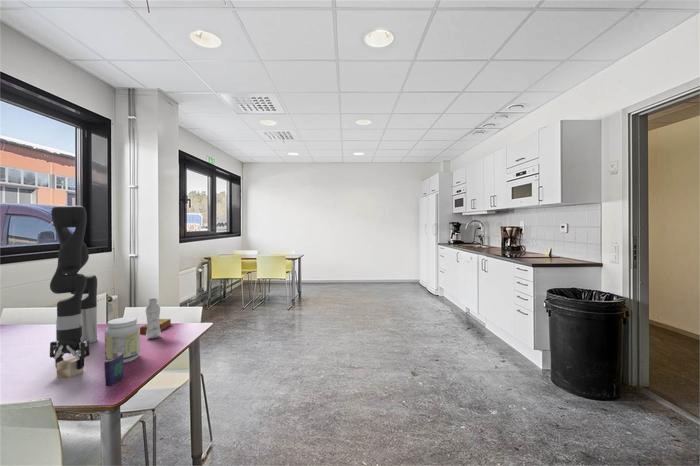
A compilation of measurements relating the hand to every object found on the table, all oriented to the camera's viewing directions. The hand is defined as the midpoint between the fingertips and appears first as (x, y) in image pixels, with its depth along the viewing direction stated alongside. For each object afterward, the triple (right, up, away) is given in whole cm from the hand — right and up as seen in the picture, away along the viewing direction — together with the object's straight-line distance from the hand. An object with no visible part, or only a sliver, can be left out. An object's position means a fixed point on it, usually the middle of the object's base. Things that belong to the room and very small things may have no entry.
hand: (69, 368), depth 123 cm
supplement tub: (+10, -2, +14) cm, 18 cm away
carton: (-1, -3, +57) cm, 57 cm away
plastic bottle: (+6, -2, +42) cm, 42 cm away
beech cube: (0, -3, 0) cm, 3 cm away
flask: (+21, -3, -6) cm, 22 cm away
